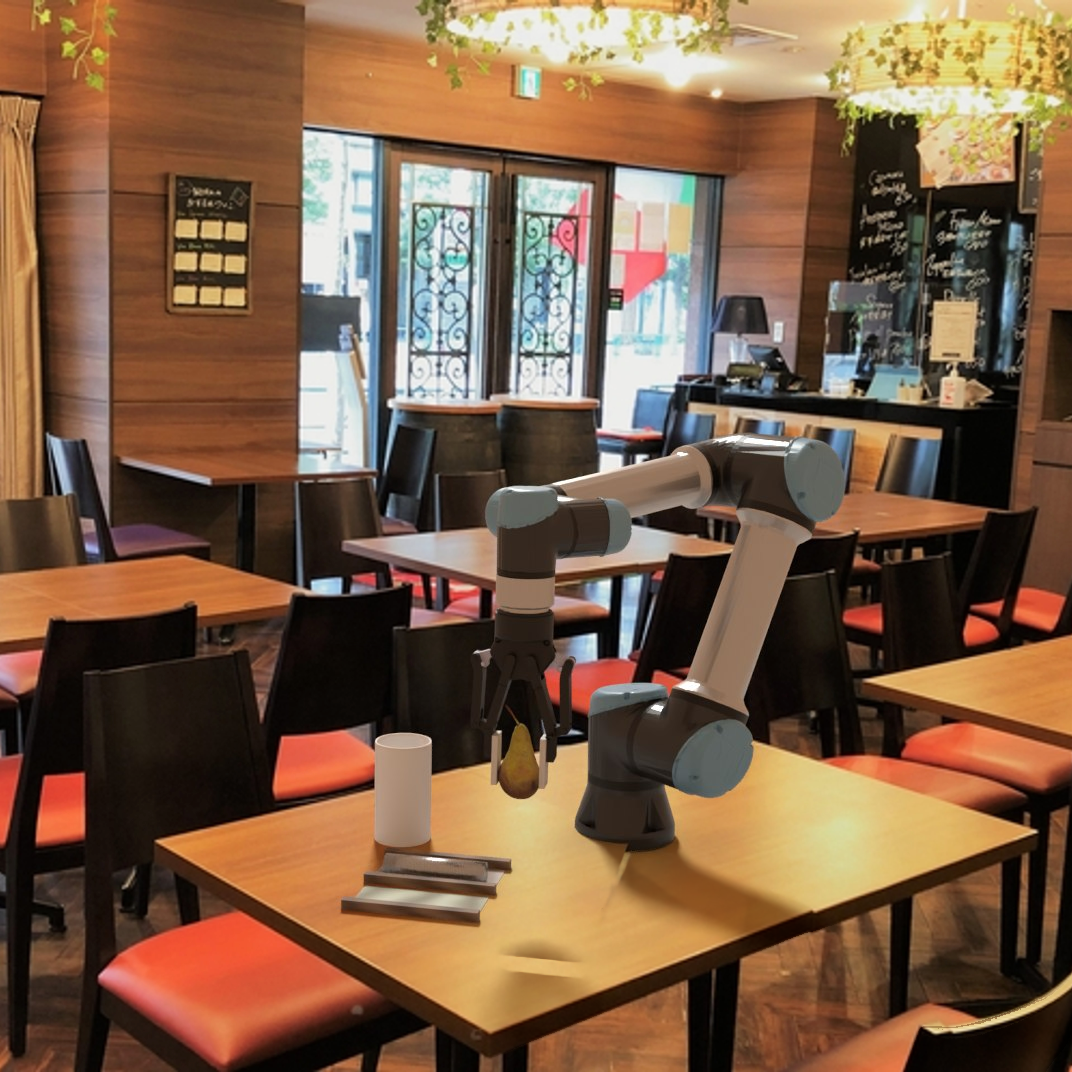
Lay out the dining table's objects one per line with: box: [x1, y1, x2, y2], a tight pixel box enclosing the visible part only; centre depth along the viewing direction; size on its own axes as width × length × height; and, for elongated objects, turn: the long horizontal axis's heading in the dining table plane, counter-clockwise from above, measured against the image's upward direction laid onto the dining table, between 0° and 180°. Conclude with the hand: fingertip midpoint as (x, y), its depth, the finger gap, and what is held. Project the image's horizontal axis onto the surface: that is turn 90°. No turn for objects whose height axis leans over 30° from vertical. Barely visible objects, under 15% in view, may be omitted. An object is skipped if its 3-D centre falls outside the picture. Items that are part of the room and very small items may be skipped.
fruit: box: [498, 703, 539, 800], centre depth 194 cm, size 6×6×12 cm
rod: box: [382, 853, 488, 882], centre depth 203 cm, size 14×3×3 cm
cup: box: [373, 732, 433, 848], centre depth 219 cm, size 8×8×16 cm
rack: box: [340, 847, 512, 924], centre depth 201 cm, size 18×20×3 cm
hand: (519, 783), depth 194 cm, fingers closed on fruit, 6 cm apart
